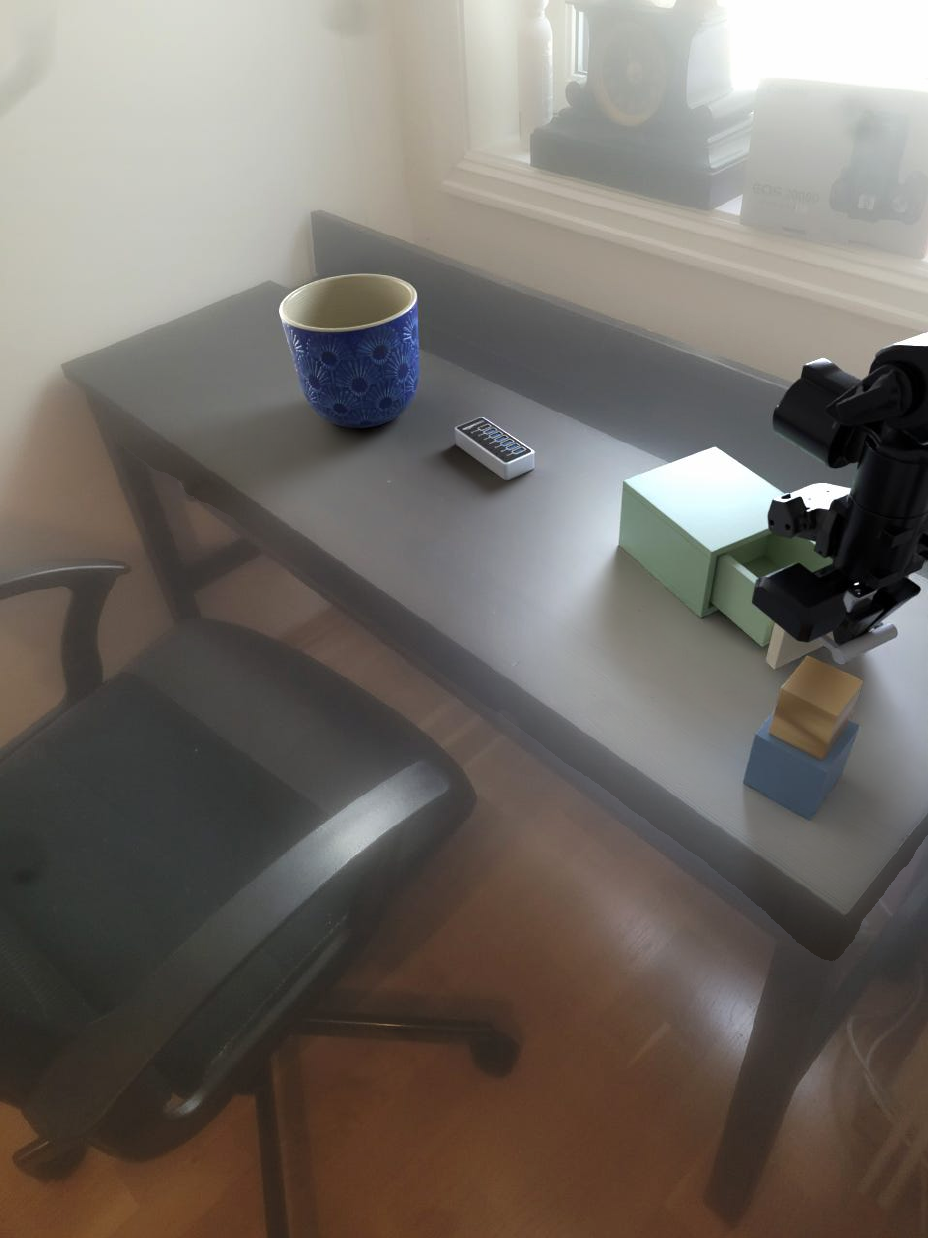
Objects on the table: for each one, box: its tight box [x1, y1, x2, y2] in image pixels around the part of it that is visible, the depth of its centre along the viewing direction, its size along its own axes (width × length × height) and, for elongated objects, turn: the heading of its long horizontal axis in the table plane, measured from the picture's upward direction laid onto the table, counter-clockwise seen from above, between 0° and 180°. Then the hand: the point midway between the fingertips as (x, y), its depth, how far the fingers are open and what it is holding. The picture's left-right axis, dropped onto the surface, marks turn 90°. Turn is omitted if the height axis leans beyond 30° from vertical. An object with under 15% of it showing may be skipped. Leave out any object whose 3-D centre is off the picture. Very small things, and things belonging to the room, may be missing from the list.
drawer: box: [709, 533, 899, 670], centre depth 78 cm, size 17×10×6 cm, turn 28°
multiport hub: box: [454, 416, 535, 481], centre depth 105 cm, size 4×11×2 cm, turn 34°
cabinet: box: [618, 446, 785, 619], centre depth 86 cm, size 14×12×8 cm
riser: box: [742, 709, 861, 821], centre depth 67 cm, size 6×6×6 cm
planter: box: [279, 273, 420, 429], centre depth 111 cm, size 17×17×15 cm
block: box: [769, 655, 864, 761], centre depth 63 cm, size 4×4×5 cm
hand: (842, 645), depth 75 cm, fingers closed, pressing on drawer
